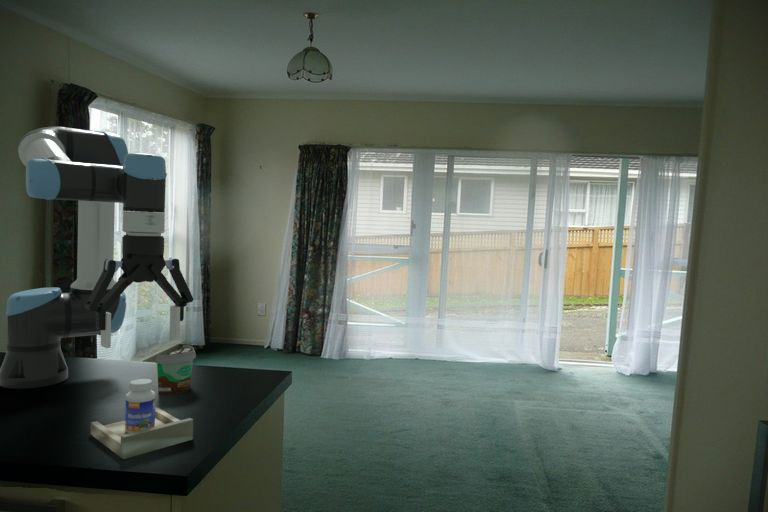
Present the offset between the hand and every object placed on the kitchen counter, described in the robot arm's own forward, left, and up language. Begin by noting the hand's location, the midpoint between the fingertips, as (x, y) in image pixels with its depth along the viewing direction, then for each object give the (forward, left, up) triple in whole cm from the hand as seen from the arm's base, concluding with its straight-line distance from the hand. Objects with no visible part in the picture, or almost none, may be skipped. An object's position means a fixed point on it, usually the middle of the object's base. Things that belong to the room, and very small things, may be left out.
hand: (141, 341), depth 108 cm
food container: (-21, +20, -19) cm, 35 cm away
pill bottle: (+1, 0, -18) cm, 18 cm away
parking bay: (+1, 0, -19) cm, 19 cm away
